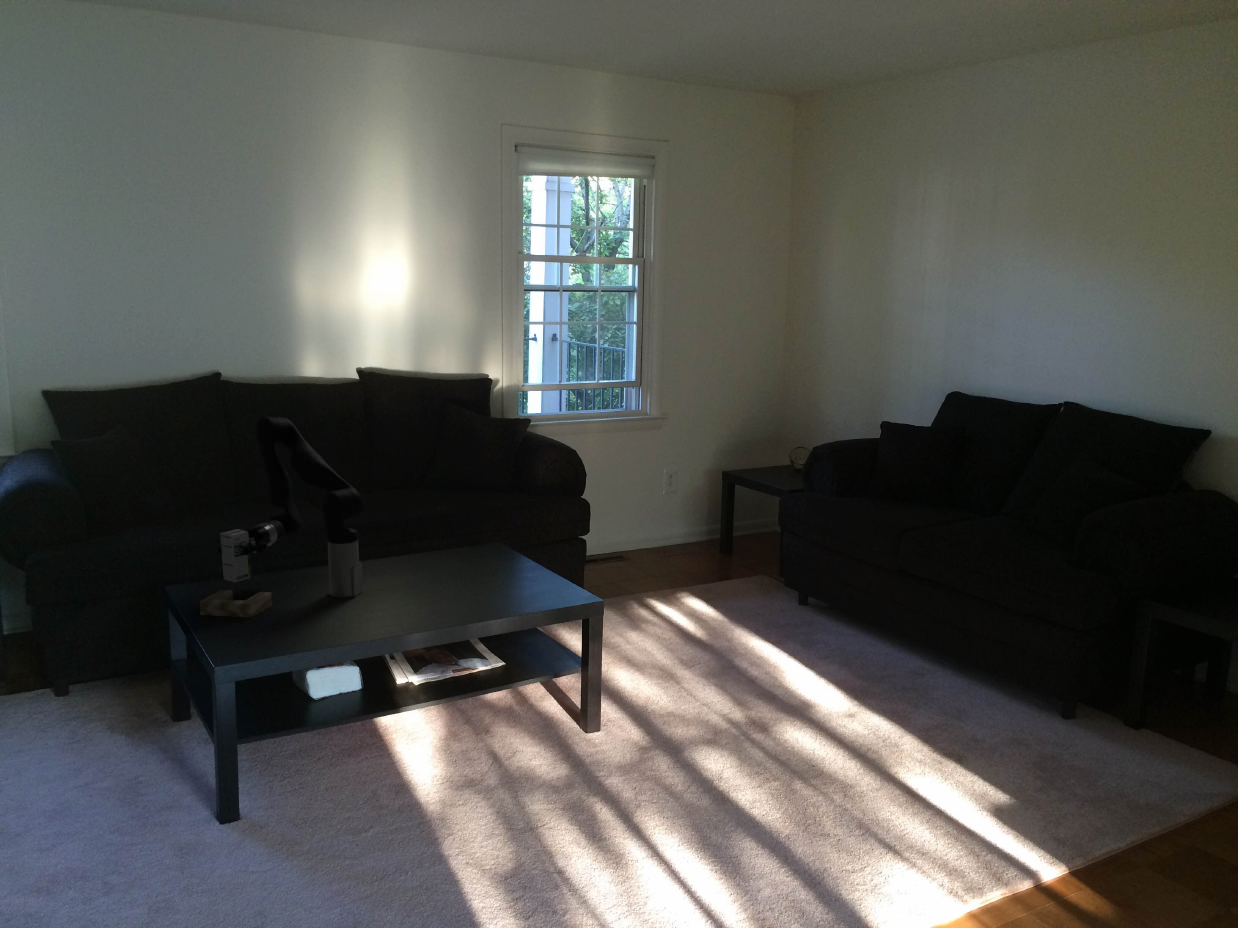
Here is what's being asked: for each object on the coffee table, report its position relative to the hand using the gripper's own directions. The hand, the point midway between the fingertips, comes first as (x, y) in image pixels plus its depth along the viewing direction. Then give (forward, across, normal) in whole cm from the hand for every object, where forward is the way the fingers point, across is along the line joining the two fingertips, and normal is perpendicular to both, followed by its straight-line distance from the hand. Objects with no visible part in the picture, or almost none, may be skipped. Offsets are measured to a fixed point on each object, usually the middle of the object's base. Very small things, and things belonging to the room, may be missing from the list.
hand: (232, 551), depth 290 cm
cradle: (0, 0, +18) cm, 18 cm away
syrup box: (-2, 0, +9) cm, 9 cm away
